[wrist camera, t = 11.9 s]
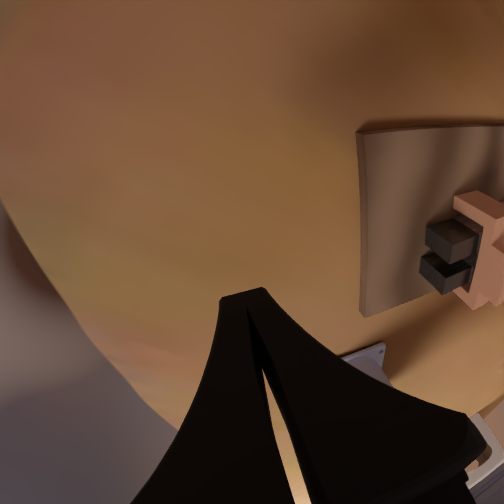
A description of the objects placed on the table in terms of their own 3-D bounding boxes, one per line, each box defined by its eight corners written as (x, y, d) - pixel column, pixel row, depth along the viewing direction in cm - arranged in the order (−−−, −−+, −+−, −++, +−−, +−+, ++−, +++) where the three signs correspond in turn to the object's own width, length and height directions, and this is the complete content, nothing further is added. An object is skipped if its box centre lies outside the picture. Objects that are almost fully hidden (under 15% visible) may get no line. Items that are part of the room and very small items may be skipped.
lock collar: (477, 190, 19) (536, 223, 13) (463, 271, 23) (509, 311, 17) (454, 195, 19) (517, 232, 13) (441, 281, 23) (488, 325, 17)
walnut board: (538, 126, 19) (545, 128, 18) (524, 240, 26) (529, 243, 25) (355, 132, 17) (364, 134, 16) (359, 310, 24) (364, 318, 23)
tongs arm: (522, 194, 20) (543, 206, 18) (520, 208, 21) (540, 221, 19) (426, 226, 19) (452, 245, 17) (424, 244, 20) (449, 264, 18)
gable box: (478, 410, 55) (524, 482, 31) (468, 428, 62) (506, 491, 37) (410, 456, 55) (451, 537, 31) (406, 467, 62) (441, 537, 38)
